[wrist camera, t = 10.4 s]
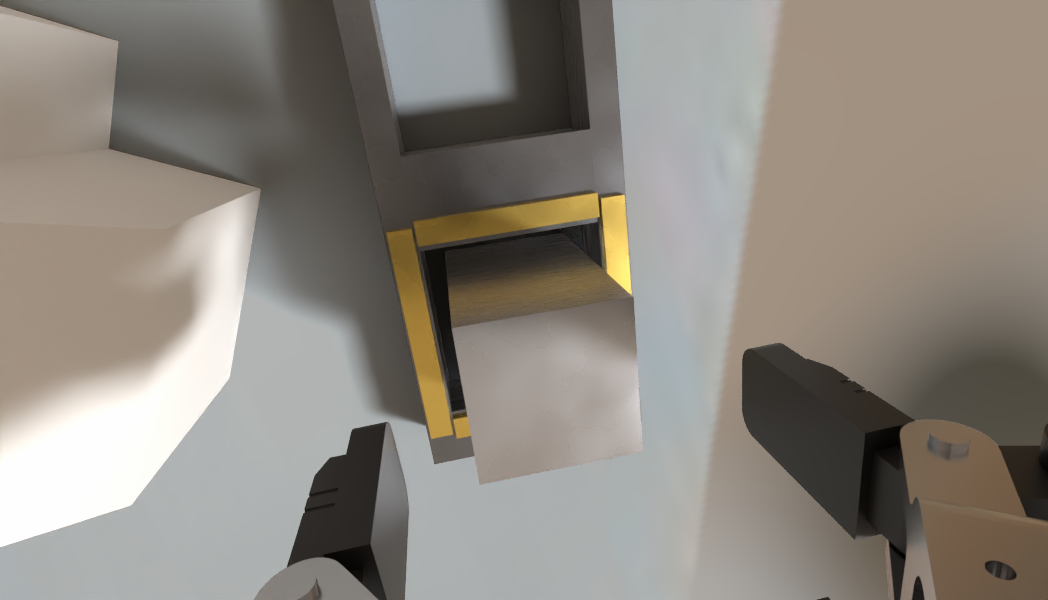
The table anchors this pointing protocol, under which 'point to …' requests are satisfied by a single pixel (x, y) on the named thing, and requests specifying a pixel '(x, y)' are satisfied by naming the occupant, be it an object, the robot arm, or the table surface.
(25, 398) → the white angular block
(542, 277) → the pale grey square box
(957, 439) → the robot arm
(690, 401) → the table surface
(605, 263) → the rail
